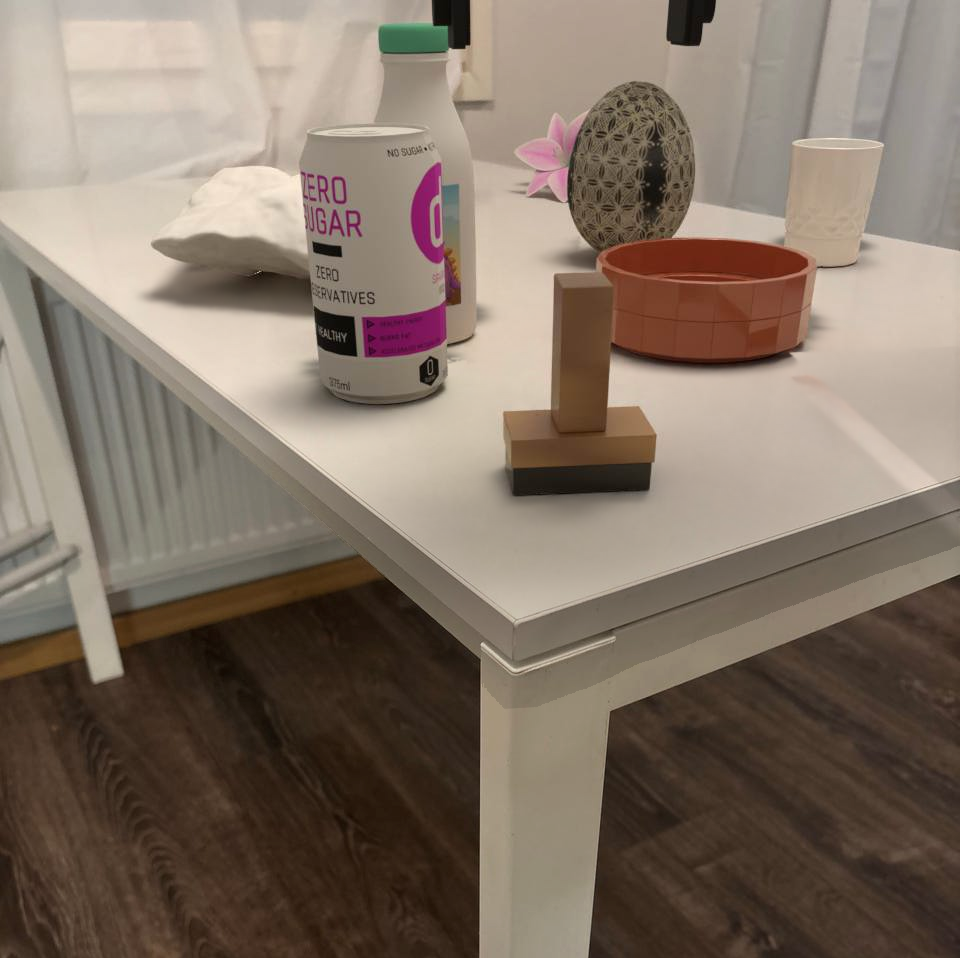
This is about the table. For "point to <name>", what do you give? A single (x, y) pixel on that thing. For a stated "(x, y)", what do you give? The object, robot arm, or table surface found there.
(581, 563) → the table surface
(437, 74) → the milk bottle
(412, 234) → the supplement can
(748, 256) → the bowl
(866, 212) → the white cup
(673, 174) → the decorative egg
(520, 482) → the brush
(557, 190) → the lily
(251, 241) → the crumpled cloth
